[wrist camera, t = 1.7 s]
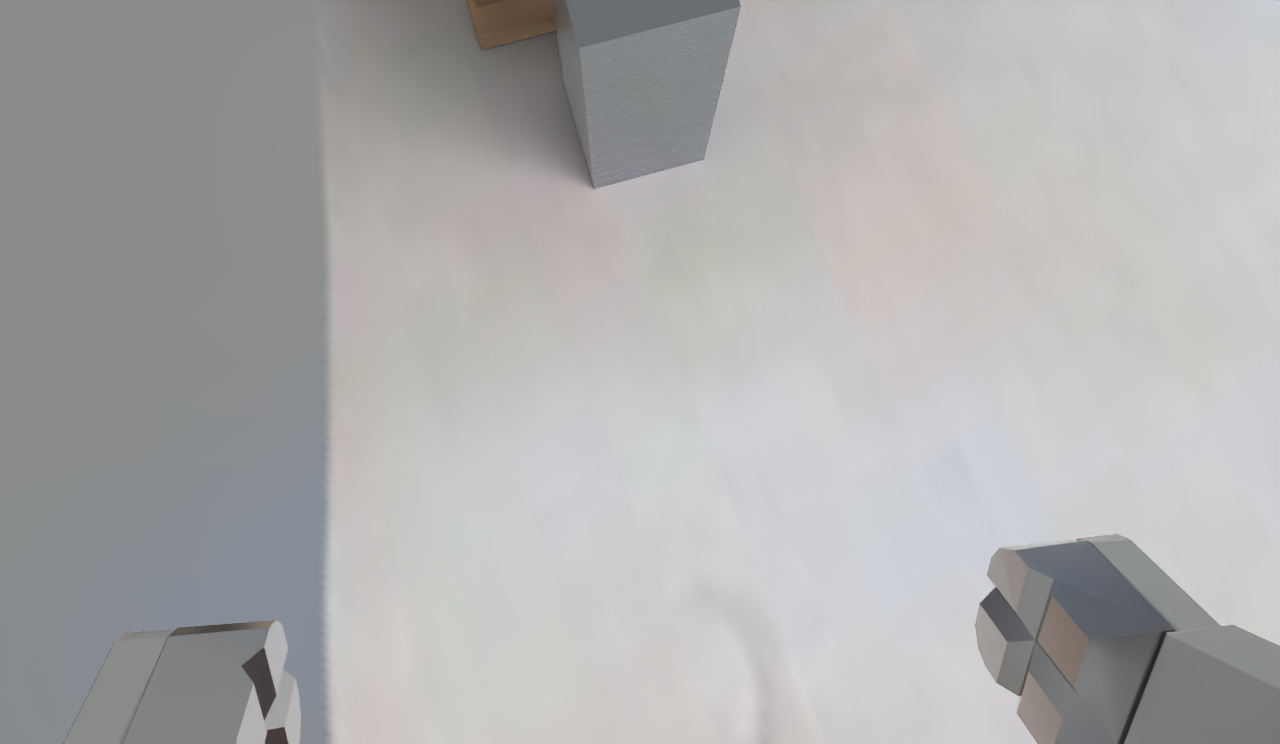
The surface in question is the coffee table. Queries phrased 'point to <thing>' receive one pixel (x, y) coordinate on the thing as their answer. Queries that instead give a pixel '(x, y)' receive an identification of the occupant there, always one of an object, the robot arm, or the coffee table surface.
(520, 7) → the twin post stand
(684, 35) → the grey block
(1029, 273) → the coffee table surface
